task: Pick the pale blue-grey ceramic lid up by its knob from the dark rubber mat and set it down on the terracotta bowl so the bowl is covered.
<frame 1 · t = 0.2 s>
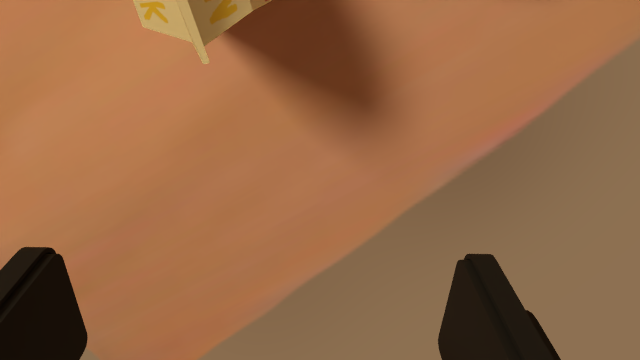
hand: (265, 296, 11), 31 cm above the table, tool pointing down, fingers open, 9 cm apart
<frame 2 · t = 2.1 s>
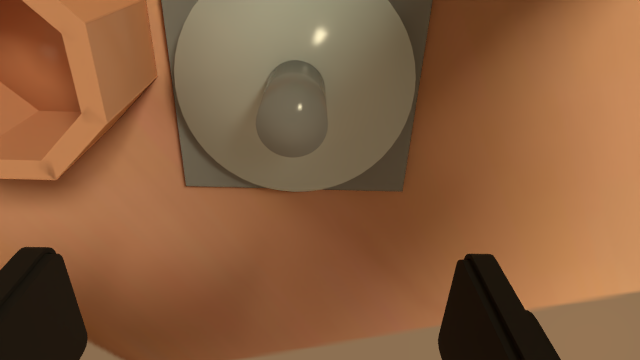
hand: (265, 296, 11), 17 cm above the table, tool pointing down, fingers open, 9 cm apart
mat: (296, 79, 25), on the table
lid: (296, 82, 25), point 1 cm above the table, touching mat
bowl: (59, 35, 24), on the table
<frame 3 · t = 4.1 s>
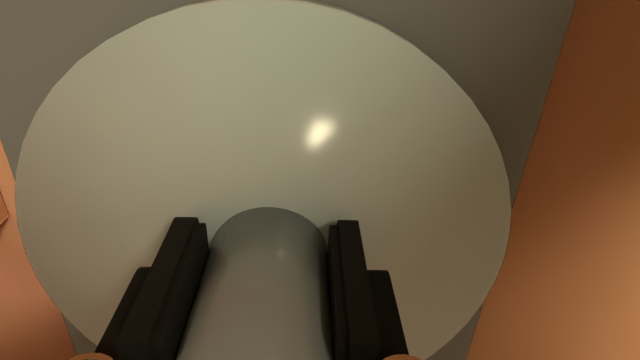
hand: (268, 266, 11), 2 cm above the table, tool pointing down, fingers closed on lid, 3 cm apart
mat: (274, 218, 13), on the table
lid: (273, 230, 13), point 1 cm above the table, touching gripper, mat
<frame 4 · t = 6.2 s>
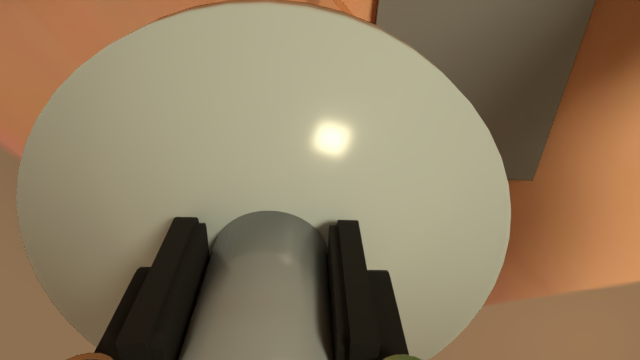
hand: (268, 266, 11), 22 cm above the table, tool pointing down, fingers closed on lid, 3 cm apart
mat: (463, 88, 31), on the table
lid: (273, 233, 13), point 20 cm above the table, touching gripper
bowl: (285, 50, 30), on the table
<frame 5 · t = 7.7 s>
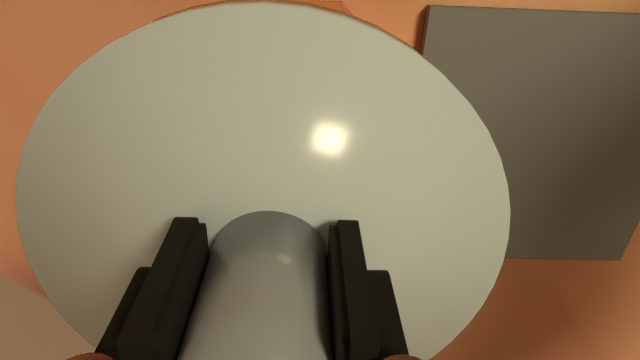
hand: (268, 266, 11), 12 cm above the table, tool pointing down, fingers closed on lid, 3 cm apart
mat: (535, 149, 23), on the table
lid: (272, 233, 13), point 10 cm above the table, touching gripper
bowl: (293, 105, 22), on the table
when the fingers open (10 cm above the table, at t = 8.7 s): lid drops 2 cm, resting on bowl.
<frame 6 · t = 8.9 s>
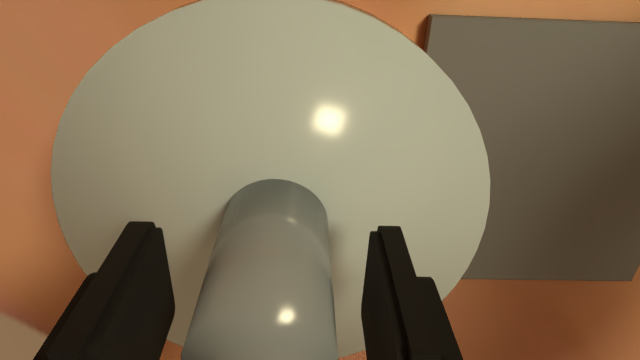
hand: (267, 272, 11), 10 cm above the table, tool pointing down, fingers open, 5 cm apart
mat: (543, 166, 22), on the table
lid: (278, 203, 14), point 7 cm above the table, touching bowl
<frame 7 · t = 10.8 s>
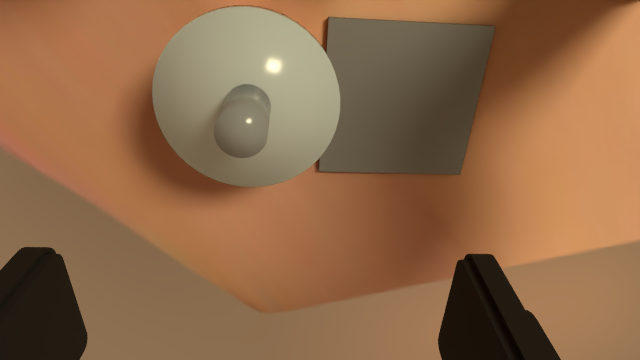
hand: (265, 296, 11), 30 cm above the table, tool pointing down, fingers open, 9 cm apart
mat: (399, 102, 39), on the table
lid: (249, 101, 31), point 7 cm above the table, touching bowl
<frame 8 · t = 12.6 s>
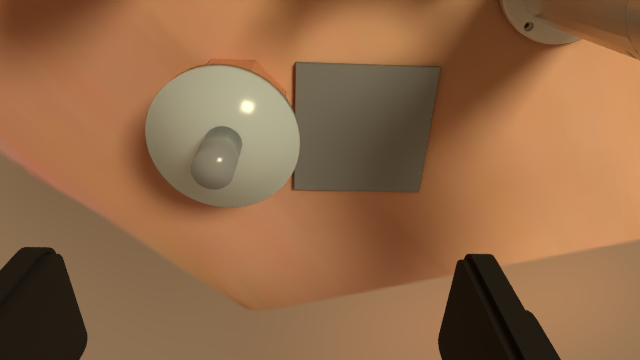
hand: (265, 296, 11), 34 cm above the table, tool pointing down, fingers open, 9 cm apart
mat: (361, 130, 46), on the table
lid: (225, 137, 38), point 7 cm above the table, touching bowl
bowl: (236, 109, 44), on the table
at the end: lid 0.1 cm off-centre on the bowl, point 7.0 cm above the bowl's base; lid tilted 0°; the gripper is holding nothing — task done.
